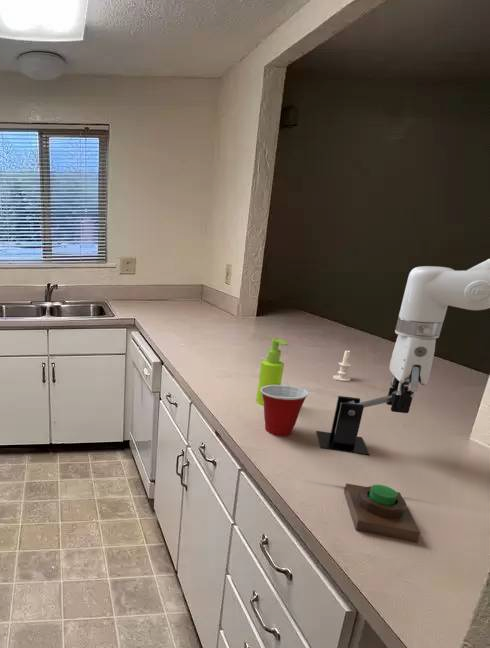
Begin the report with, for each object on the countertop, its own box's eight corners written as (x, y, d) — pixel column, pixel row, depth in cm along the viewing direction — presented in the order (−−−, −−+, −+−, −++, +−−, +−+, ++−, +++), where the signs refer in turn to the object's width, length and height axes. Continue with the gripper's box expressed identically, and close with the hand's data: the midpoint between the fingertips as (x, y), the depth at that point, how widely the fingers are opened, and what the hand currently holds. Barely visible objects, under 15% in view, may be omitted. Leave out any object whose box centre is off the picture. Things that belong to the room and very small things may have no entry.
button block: (343, 492, 86) (347, 475, 84) (397, 502, 83) (402, 484, 81) (355, 530, 75) (360, 511, 74) (417, 543, 72) (423, 523, 71)
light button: (366, 490, 80) (368, 482, 80) (392, 495, 79) (394, 487, 78) (371, 503, 77) (373, 494, 76) (398, 508, 75) (400, 499, 75)
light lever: (408, 398, 96) (404, 385, 96) (412, 403, 94) (408, 390, 93) (343, 413, 102) (339, 400, 102) (345, 418, 99) (341, 406, 99)
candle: (352, 382, 144) (358, 352, 140) (334, 380, 146) (340, 350, 142) (349, 377, 149) (355, 348, 145) (331, 375, 150) (337, 346, 147)
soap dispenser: (265, 411, 122) (276, 343, 116) (251, 402, 129) (260, 336, 122) (283, 409, 124) (295, 341, 117) (268, 400, 130) (278, 335, 123)
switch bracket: (360, 441, 106) (371, 396, 102) (369, 459, 98) (380, 411, 94) (315, 434, 109) (323, 391, 105) (319, 451, 101) (329, 405, 97)
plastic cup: (275, 421, 117) (281, 379, 112) (310, 438, 107) (318, 393, 103) (245, 429, 112) (250, 386, 108) (278, 447, 103) (286, 401, 99)
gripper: (455, 338, 82) (429, 426, 88) (426, 321, 96) (405, 397, 102) (408, 335, 84) (386, 421, 90) (386, 318, 99) (369, 393, 105)
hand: (396, 407), depth 96 cm, fingers closed on light lever, 3 cm apart
